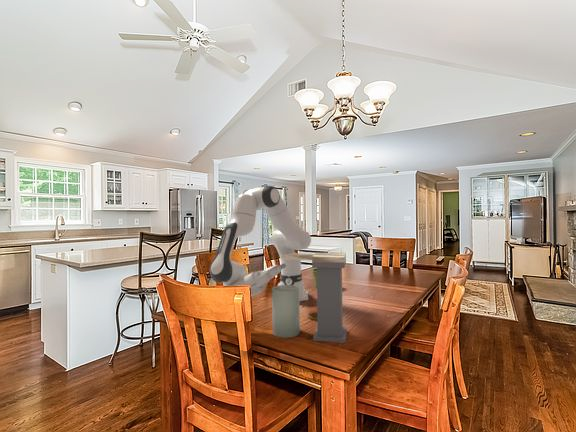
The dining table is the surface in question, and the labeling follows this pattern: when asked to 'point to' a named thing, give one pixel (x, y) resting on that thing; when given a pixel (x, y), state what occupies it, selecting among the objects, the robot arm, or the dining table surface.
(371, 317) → the dining table surface
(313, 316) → the burger
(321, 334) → the plinth
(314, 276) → the plant pot
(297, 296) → the crock
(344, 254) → the cutting board
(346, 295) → the dining table surface
